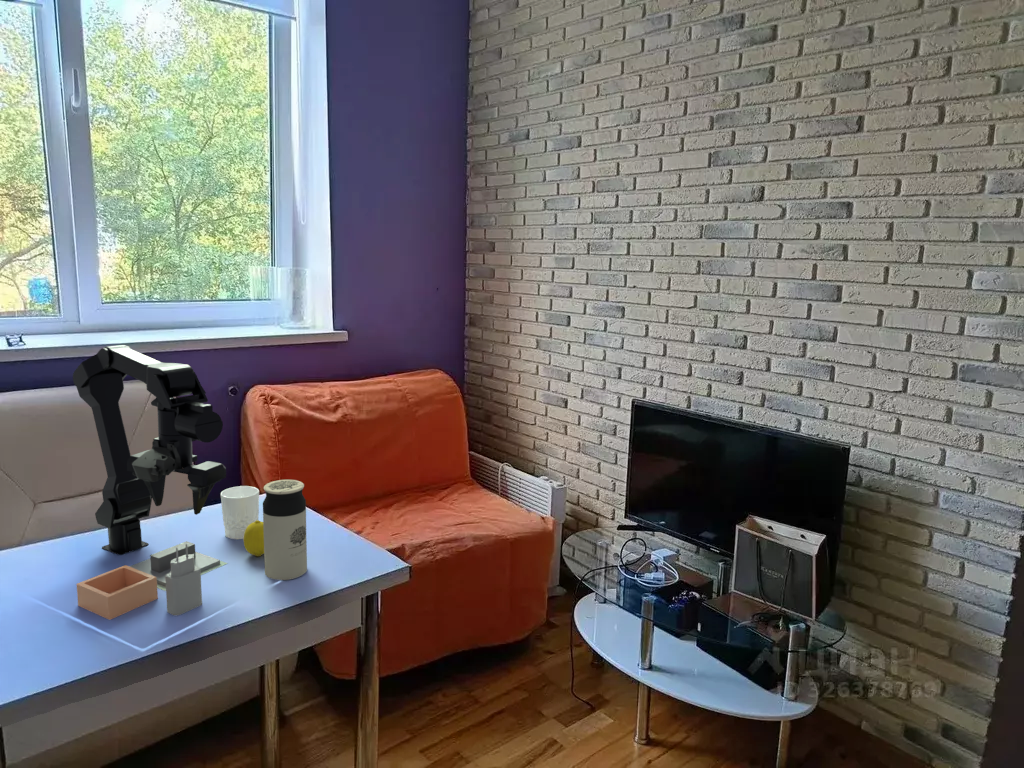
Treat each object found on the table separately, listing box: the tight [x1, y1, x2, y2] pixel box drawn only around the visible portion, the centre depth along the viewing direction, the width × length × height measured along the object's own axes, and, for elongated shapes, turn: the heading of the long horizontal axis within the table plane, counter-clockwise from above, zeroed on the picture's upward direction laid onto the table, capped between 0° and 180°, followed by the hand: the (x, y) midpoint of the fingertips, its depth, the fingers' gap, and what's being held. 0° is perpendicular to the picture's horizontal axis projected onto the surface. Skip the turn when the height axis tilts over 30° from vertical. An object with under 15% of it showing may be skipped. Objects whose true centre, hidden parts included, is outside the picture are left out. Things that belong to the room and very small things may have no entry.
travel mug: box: [262, 479, 308, 581], centre depth 141 cm, size 8×8×18 cm
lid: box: [128, 541, 221, 587], centre depth 142 cm, size 12×12×4 cm
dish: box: [75, 564, 159, 621], centre depth 128 cm, size 9×9×4 cm
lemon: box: [243, 519, 264, 558], centre depth 148 cm, size 6×6×8 cm
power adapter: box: [165, 544, 203, 617], centre depth 126 cm, size 3×5×12 cm, turn 149°
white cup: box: [220, 485, 260, 540], centre depth 159 cm, size 8×8×10 cm
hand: (177, 509), depth 139 cm, fingers open, 9 cm apart
